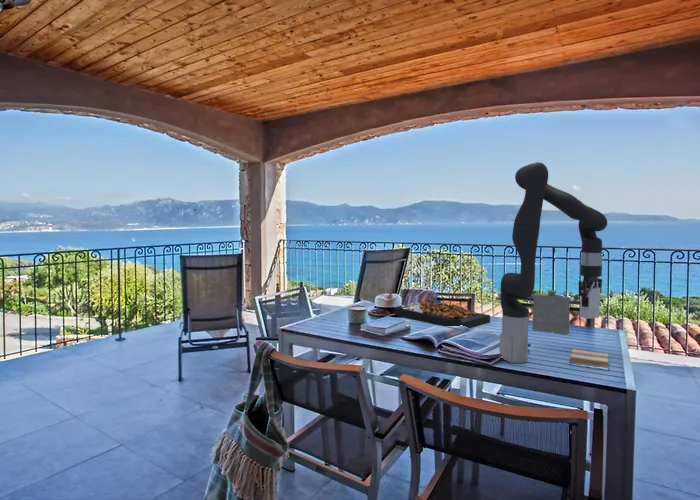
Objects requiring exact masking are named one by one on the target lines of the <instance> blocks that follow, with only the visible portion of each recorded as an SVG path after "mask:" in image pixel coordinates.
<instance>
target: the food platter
mask: <svg viewBox="0 0 700 500" xmlns="http://www.w3.org/2000/svg"><path fill="white" fill-rule="evenodd" d="M429 297H430V298H428V297H426V298H425V300H424V299H423V298H422V297H421V301H420V302H411V303H409V304H407V305H406V306H400V307H398V308H395V309H394V316H395V315H397V316H396V317H398V318H399V317H400V318H405V319H409V320H412V321H418V322H422V323H427V324H431V325H436V326H441V327H445V326H460V325H463V326H466V327H468V328H469V329H468V330H470V329H473V328H476V327H479V326H483V325H486V324H489V323H491V315H490V314H487V313H486V314H485V313H481V312H480V313H479V312H476V311H475V310H472V311H471V310H469V309H466V308H464V306H459V305H456V304H450V303H449V304H448V303H446V302H440V303H435V300H432V298H431V296H429Z"/></svg>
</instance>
